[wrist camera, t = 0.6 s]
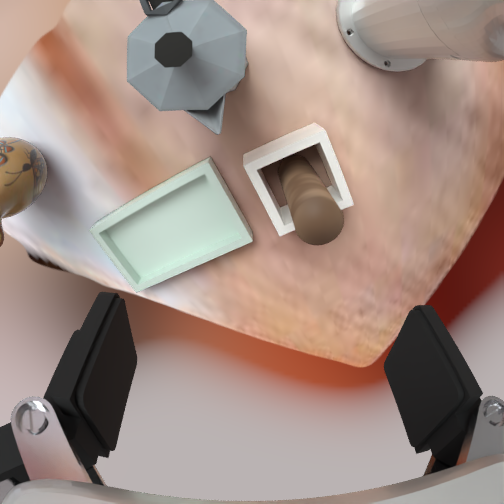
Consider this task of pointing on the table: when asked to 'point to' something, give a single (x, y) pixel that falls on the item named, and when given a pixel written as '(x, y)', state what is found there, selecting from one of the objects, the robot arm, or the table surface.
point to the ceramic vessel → (19, 177)
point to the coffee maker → (187, 57)
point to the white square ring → (283, 149)
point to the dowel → (309, 202)
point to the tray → (173, 227)
